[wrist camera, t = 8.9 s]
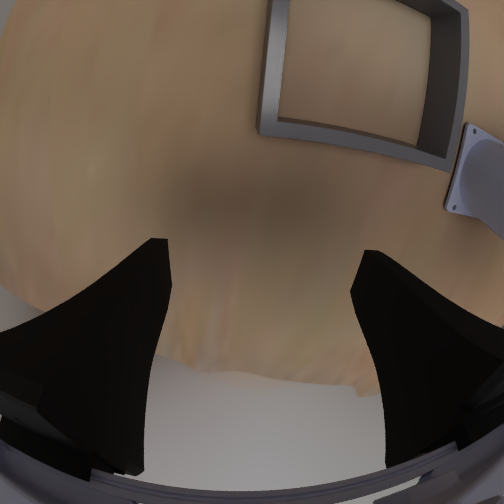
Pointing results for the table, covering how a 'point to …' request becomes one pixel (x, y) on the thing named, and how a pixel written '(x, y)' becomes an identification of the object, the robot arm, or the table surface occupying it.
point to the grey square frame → (426, 152)
